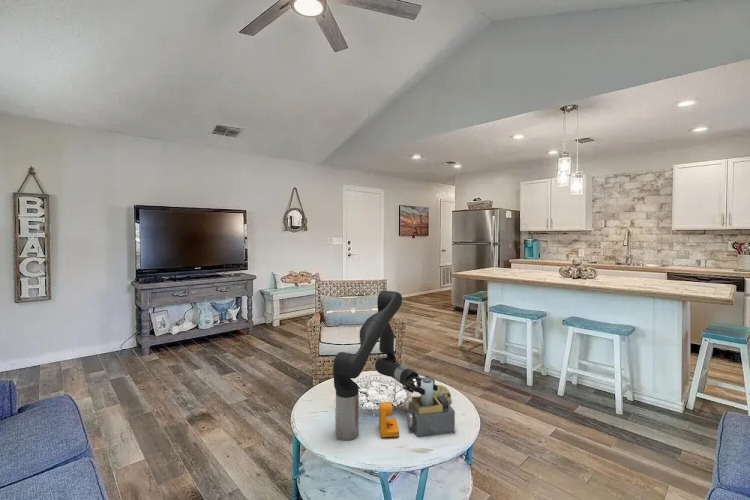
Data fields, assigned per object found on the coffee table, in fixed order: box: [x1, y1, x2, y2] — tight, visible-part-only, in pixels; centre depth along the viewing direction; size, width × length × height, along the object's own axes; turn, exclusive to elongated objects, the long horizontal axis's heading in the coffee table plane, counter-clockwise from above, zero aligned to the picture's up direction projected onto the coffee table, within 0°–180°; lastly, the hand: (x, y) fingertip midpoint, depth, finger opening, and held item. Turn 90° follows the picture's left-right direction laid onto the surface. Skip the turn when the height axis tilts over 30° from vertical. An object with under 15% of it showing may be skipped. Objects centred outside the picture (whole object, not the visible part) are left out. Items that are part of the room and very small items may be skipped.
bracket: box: [378, 401, 400, 438], centre depth 148 cm, size 11×7×12 cm, turn 4°
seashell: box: [433, 384, 452, 406], centre depth 174 cm, size 10×10×10 cm
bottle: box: [420, 376, 433, 407], centre depth 150 cm, size 5×5×12 cm
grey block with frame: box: [406, 395, 456, 438], centre depth 150 cm, size 18×11×12 cm, turn 101°
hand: (430, 390), depth 147 cm, fingers open, 6 cm apart
